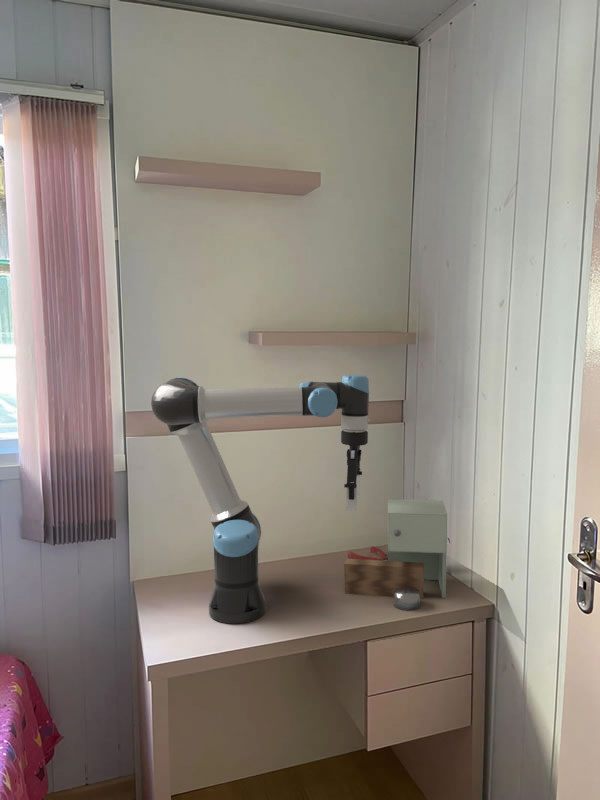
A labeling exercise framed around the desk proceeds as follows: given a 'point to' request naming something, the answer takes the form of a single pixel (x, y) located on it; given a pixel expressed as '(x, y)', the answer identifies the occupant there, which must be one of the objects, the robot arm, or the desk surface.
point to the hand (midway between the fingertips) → (353, 503)
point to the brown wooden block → (381, 576)
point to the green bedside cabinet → (419, 536)
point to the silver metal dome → (406, 598)
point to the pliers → (374, 550)
